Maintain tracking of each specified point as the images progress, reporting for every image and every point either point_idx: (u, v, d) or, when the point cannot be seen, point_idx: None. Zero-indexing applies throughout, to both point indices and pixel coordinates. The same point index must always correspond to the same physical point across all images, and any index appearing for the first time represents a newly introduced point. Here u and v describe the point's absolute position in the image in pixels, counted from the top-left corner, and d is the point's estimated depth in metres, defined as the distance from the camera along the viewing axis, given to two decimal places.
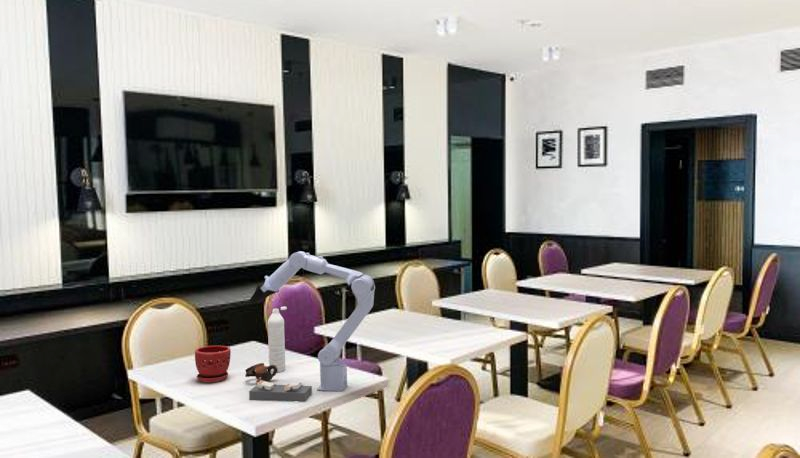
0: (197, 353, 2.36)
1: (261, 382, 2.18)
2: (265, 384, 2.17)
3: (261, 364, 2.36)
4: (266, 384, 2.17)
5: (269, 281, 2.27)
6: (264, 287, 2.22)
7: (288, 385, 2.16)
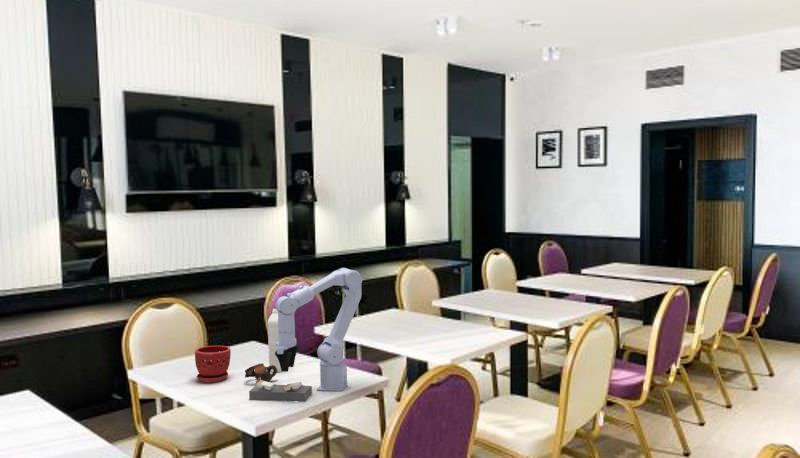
0: (197, 353, 2.36)
1: (261, 382, 2.18)
2: (265, 384, 2.17)
3: (261, 364, 2.36)
4: (266, 384, 2.17)
5: (281, 343, 2.17)
6: (279, 350, 2.12)
7: (288, 385, 2.16)
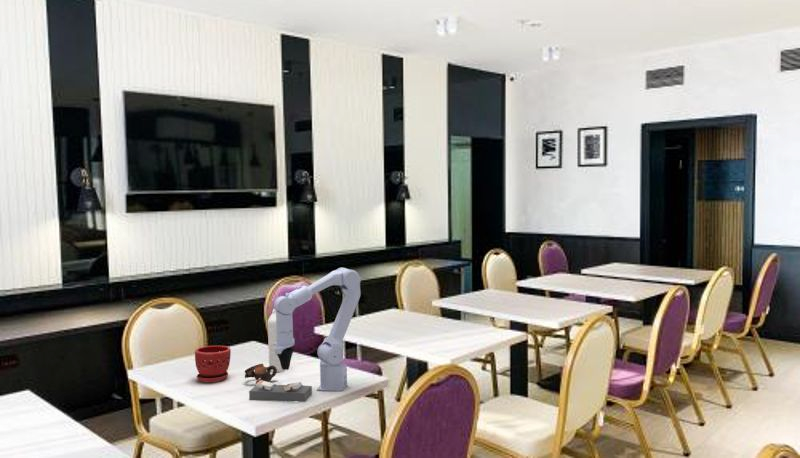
0: (197, 353, 2.36)
1: (261, 382, 2.18)
2: (265, 384, 2.17)
3: (260, 365, 2.35)
4: (266, 384, 2.17)
5: (279, 343, 2.17)
6: (277, 349, 2.12)
7: (288, 385, 2.16)
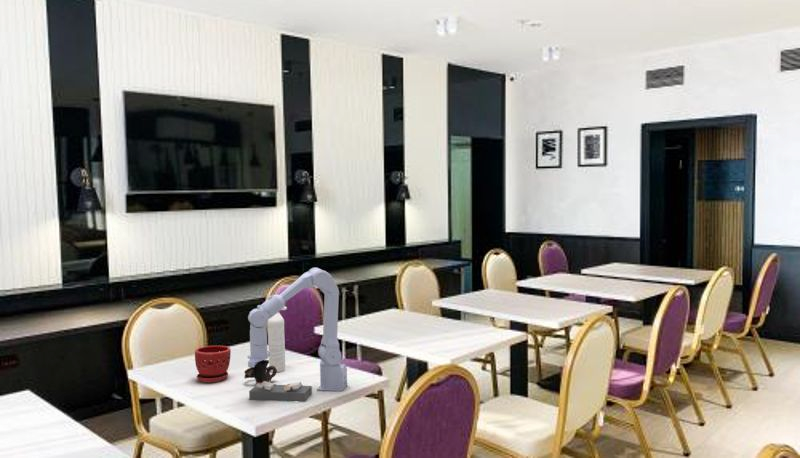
0: (197, 353, 2.36)
1: None
2: (265, 384, 2.17)
3: None
4: (266, 384, 2.17)
5: (252, 356, 2.15)
6: (250, 363, 2.11)
7: (288, 385, 2.16)
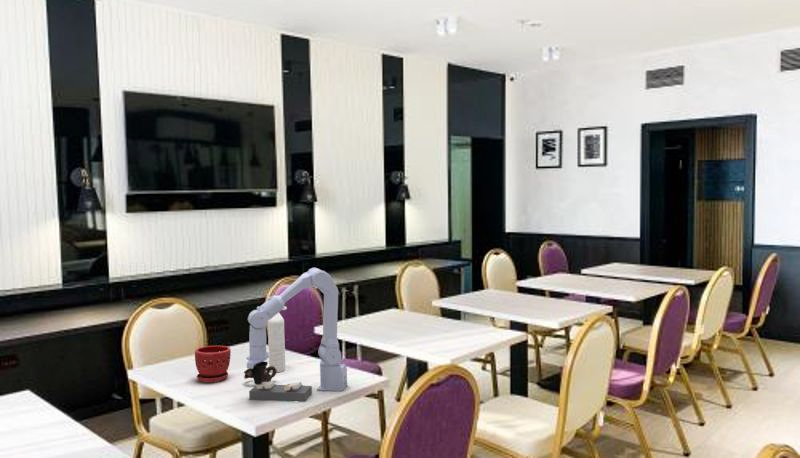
0: (197, 353, 2.36)
1: None
2: (265, 384, 2.17)
3: None
4: (266, 384, 2.17)
5: (251, 357, 2.15)
6: (249, 364, 2.11)
7: (288, 385, 2.16)
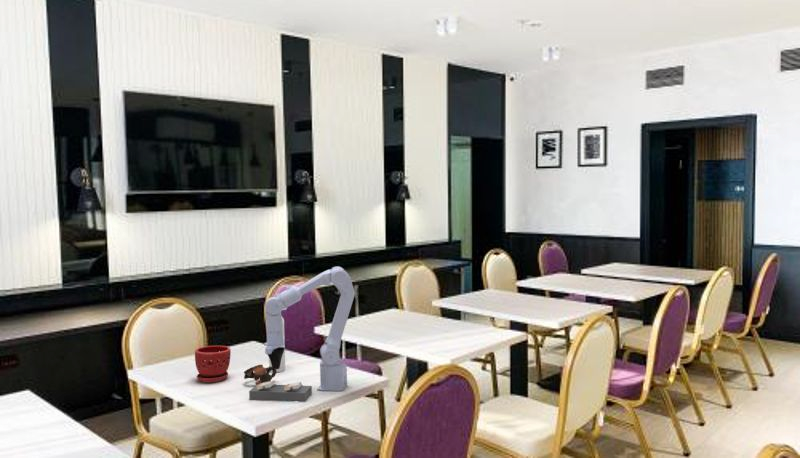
0: (197, 353, 2.36)
1: (260, 384, 2.18)
2: (264, 384, 2.17)
3: (260, 366, 2.34)
4: (265, 383, 2.17)
5: (269, 343, 2.21)
6: (267, 349, 2.16)
7: (288, 385, 2.16)
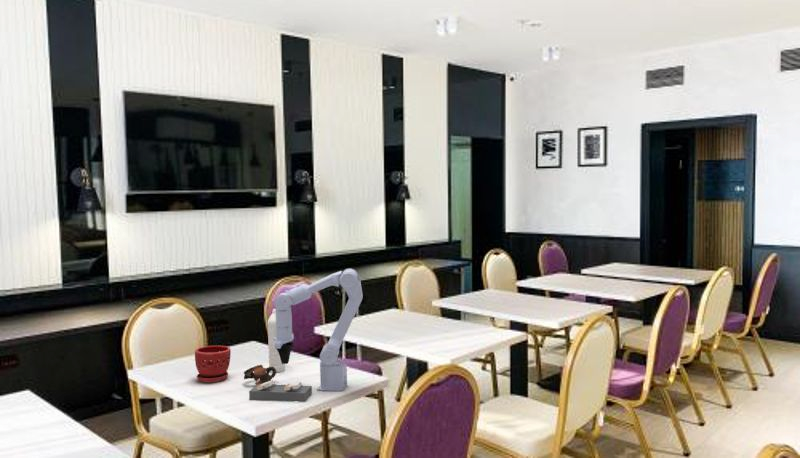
0: (197, 353, 2.36)
1: (260, 384, 2.18)
2: (264, 384, 2.17)
3: (260, 366, 2.34)
4: (265, 383, 2.17)
5: (278, 338, 2.25)
6: (276, 344, 2.20)
7: (288, 385, 2.16)
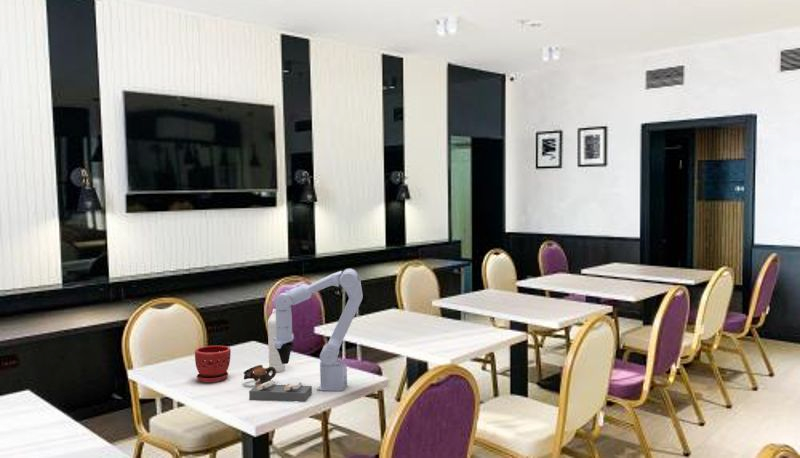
0: (197, 353, 2.36)
1: (260, 385, 2.18)
2: (264, 384, 2.17)
3: (260, 366, 2.34)
4: (265, 383, 2.17)
5: (278, 338, 2.25)
6: (276, 344, 2.20)
7: (288, 385, 2.16)
